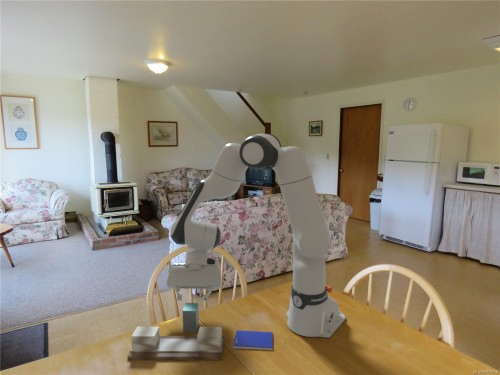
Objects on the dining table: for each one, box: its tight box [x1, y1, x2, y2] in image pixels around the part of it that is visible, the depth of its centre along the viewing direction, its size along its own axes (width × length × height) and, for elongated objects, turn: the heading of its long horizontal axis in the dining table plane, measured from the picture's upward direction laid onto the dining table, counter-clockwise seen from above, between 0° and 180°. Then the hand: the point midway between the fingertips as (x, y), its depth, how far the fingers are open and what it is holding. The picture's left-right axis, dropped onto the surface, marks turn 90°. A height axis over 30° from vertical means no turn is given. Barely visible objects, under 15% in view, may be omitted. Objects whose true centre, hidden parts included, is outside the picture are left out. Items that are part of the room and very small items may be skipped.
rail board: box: [127, 326, 225, 361], centre depth 98 cm, size 28×10×6 cm, turn 90°
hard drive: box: [232, 329, 274, 351], centre depth 103 cm, size 2×8×12 cm
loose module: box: [182, 302, 200, 333], centre depth 109 cm, size 4×5×8 cm
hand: (192, 300), depth 113 cm, fingers open, 8 cm apart
